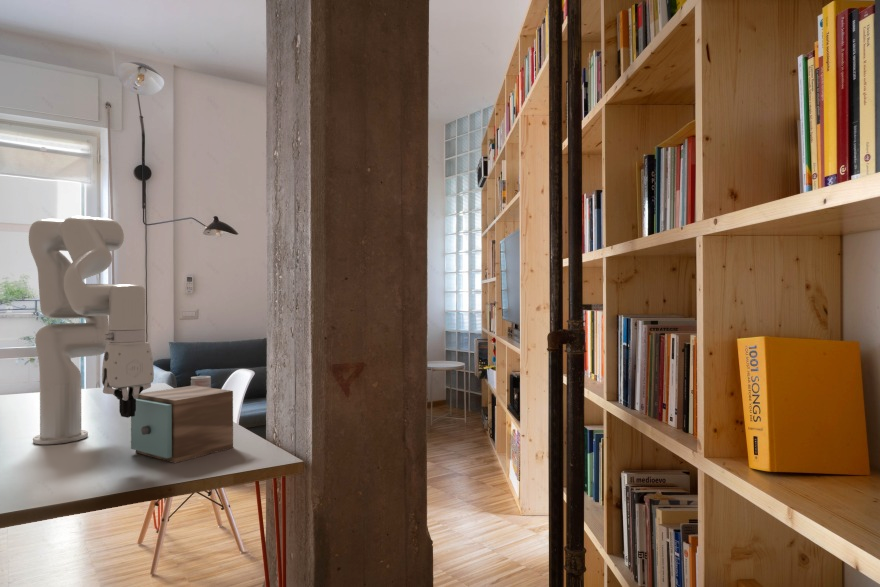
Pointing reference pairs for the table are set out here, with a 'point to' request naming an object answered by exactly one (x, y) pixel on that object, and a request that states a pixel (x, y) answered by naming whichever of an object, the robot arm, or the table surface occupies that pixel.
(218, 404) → the cabinet
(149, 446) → the drawer
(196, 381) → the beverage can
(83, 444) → the table surface
